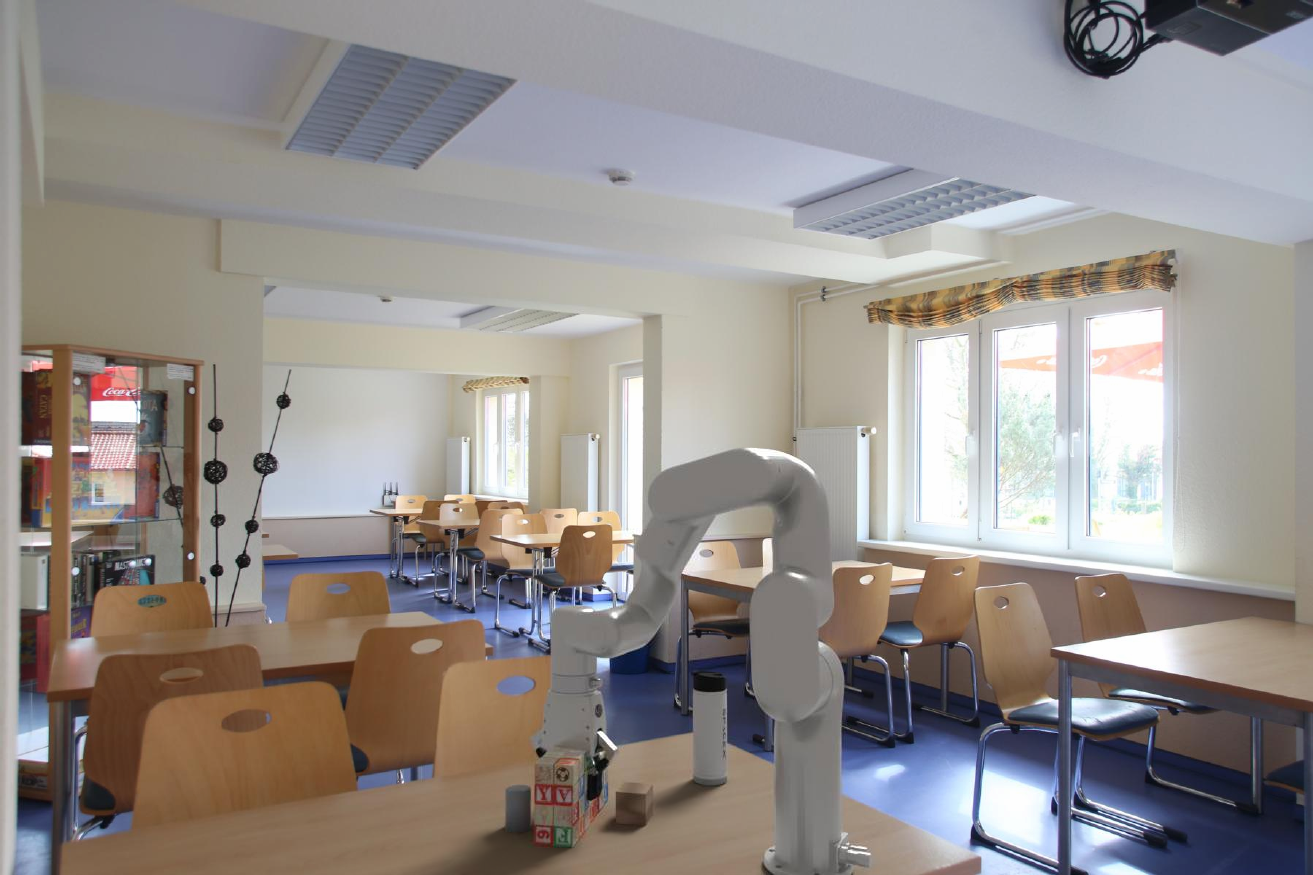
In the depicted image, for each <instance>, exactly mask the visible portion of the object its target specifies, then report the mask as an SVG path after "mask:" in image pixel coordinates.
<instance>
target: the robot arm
mask: <svg viewBox="0 0 1313 875" xmlns="http://www.w3.org/2000/svg"><path fill="white" fill-rule="evenodd" d="M826 492H827V491H826V490H825V487H824V485H823V483H822V481H821V479H820V478H819V476H818V475H817V473H816V472H815V471H814V470H813V469H812V468H811V467H810V466H809V465H808V464H806V463H805V462H803V461H802V460H800V459H798V458H797V457H795V456H793V455H792V454H791V455H790V454H788V453H785V452H782V451H780V450H774V449H768V448H759V447H758V448H757V447H737V448H733V449H729V450H726V451H723V452H720V453H716V454H712V455H708V456H705V457H703V458H699V459H697V460H696V459H695V460H692V461H689V462H685V463H681V464H678V465H675V466H672V467H668V468H666V469H664V470H663V471H661V472H660V473H658V474H657V475H656V476H655V478H654V479H652V482H651V483H650V486H649V488H648V491H647V503H648V504H647V505H648V507H649V510H650V512H651V514H652V516H651V518H650V520H649V521H648V523H647V524H646V526H645V528H644V529H643V531H642V533H641V534H640V536H639V538H638V539H637V541H636V543H635V545H634V552H635V554H636V557H637V558H638V559H639V560H640V564H641V565H640V566H641V567H640V569H641V570H640V573H639V576H638V579H637V582H636V583H635V584H634V586H633V588H632V590H631V592H630V593H629V595H628V597H627V599H626V600H625V602H624V603H623V604H621V605H618V606H612V607H609V608H605V609H602V610H600V609H599V610H595V609H594V608H593V607H592V606H588V605H583V604H582V605H580V604H578V605H577V604H576V605H575V604H573V605H572V604H571V605H570V604H569V605H563V606H558V607H556V608H554V610H553V611H552V613H551V617H550V684H549V685H550V689H548V690H547V693H546V697H545V702H544V708H543V715H542V728H540V729H539V730H538V731H537V732H535V733H534V734H533V735H532V736H531V737H529V742H530V743H531V745H532V748H533V749H534V750H535V754H536V756H537V757H538V758H539V759H540V758H541V757H542V756H543V755H545V754H546V753H547V752H548V751H549V750H550V749H551V748H552V747H553V746H556V747H562V748H568V749H573V750H580V751H586V757H587V766H588V768H589V770H590V774H589V775H588V784H587V799H588V800H589V801H592V800H594V799H596V798H597V797H599V796H600V795H601V792H602V771H604V770H605V768H606V767H607V766H608V767H609V766H610V765H611V763H612V761H613V760H614V759H615V758H616V756H617V755H618V754H619V748H618V747H617V746H616V745H615V744H614V742H612V740H610V739H609V737H608V735H607V734H608V733H607V732H608V730H607V717H606V710H605V702H604V698H603V694H602V691H600V690H598V688H602V686H603V685H604V681H603V679H602V678H599V677H598V658H599V659H613V658H616V657H619V656H622V655H625V654H627V653H629V652H633V651H636V650H638V649H641V648H644V646H646V645H647V644H648V643H649V642H650V641H651V640H652V639H653V638H654V636H655V635H656V633H657V632H658V631H659V629H660V628H661V626H662V624H663V623H664V621H665V619H666V618H667V616H668V614H669V613H670V611H671V609H672V607H673V605H674V603H675V600H676V598H677V595H678V591H679V589H680V588H679V587H680V584H681V578H682V574H683V571H684V570H685V568H686V566H687V565H688V562H689V561H690V560H691V558H692V556H693V554H694V553H695V551H696V550H697V548H698V547H699V545H700V543H701V542H702V540H703V538H704V536H705V535H706V534H707V532H708V530H709V529H710V527H711V525H712V523H713V521H714V520H715V519H716V517H717V516H718V515H722V514H726V513H728V512H730V513H731V512H733V511H737V510H742V509H745V508H747V509H748V508H753V507H754V508H755V507H756V508H757V507H759V508H760V507H768V508H770V509H771V511H772V513H773V514H772V515H773V522H772V527H771V528H772V529H771V551H772V571H771V572H769V573H767V575H764V576H763V577H762V578H761V580H760V581H759V582H758V583H757V585H756V586H755V588H754V590H753V593H752V595H751V600H750V604H749V638H750V639H749V640H750V644H749V645H750V666H751V667H750V668H751V683H752V690H753V693H754V694H753V695H754V696H755V699H756V701H757V703H758V705H759V707H760V708H761V710H762V711H763V712H764V713H765V714H766V715H768V717H770V718H771V719H773V720H774V729H773V767H774V768H773V774H774V776H773V779H774V780H773V782H774V783H773V785H774V786H773V788H774V790H773V793H774V845H773V846H771V847H769V848H767V849H766V850H765V852H764V855H763V864H764V867H765V868H766V869H767V870H768V871H769V872H770V873H771V874H772V875H852V874H853V873H854V869H855V866H857V867H860V868H864V869H872V866H873V861H874V859H873V854H872V853H870V852H869V848H868V847H867V846H861V845H857V846H856V845H853V844H852V843H851V842H849V833H848V832H844V831H843V803H842V802H843V799H842V798H843V797H842V796H843V794H842V793H843V792H842V791H843V790H842V787H843V785H842V724H843V723H842V722H843V720H842V717H843V707H844V694H845V675H844V669H843V666H842V665H843V664H842V662H841V660H840V658H839V657H838V654H836V652H835V650H833V648H832V647H830V646H829V645H828V644H826V643H824V642H822V641H820V640H819V628H821V627H823V626H824V625H825V624H826V623H827V622H828V621H829V620H830V618H831V616H832V615H833V612H834V609H835V591H834V580H833V579H834V577H833V576H834V575H833V574H834V573H833V557H832V556H833V555H832V554H833V553H832V545H831V530H830V529H831V527H830V526H831V525H830V510H829V502H828V501H829V500H828V497H827V493H826ZM603 751H605V752H606V754H605V755H604V757H603V759H602V757H601V755H600V753H599V752H603Z"/></svg>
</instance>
